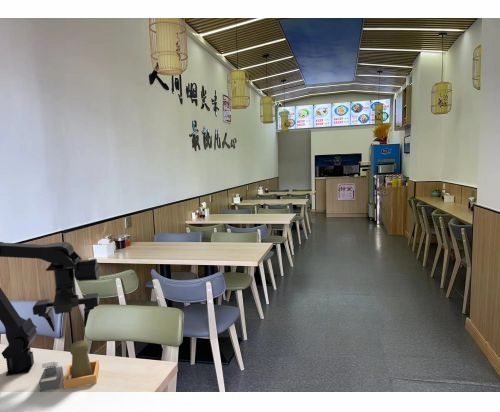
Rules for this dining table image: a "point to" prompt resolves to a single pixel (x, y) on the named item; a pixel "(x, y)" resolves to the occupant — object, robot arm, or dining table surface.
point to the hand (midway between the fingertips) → (69, 328)
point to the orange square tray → (81, 380)
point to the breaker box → (51, 378)
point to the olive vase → (80, 359)
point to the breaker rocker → (50, 365)
